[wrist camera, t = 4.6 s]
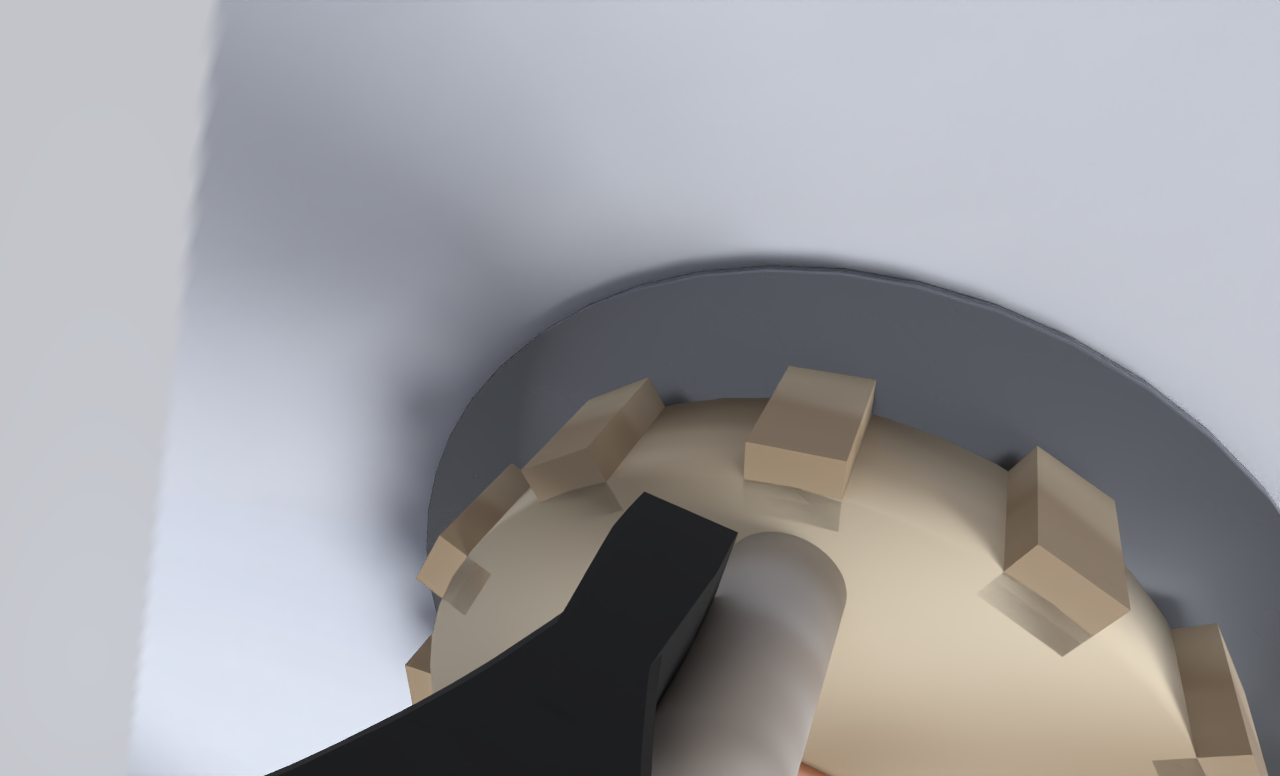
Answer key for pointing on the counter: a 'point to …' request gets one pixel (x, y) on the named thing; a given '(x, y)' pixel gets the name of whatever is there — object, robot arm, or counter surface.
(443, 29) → the counter surface
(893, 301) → the base plate
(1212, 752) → the sprocket
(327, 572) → the counter surface
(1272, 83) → the counter surface
